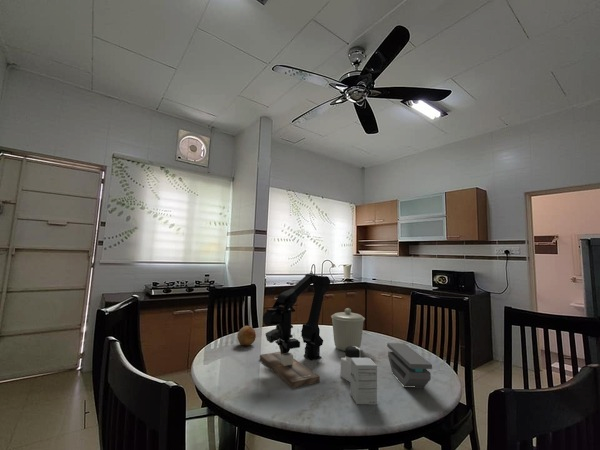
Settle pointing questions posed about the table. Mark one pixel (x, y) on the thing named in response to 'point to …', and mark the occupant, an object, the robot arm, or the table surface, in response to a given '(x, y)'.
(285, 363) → the fader tab
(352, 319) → the canister
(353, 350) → the medicine bottle
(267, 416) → the table surface
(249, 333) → the onion
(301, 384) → the board
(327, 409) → the table surface
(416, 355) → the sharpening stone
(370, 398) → the supplement box
